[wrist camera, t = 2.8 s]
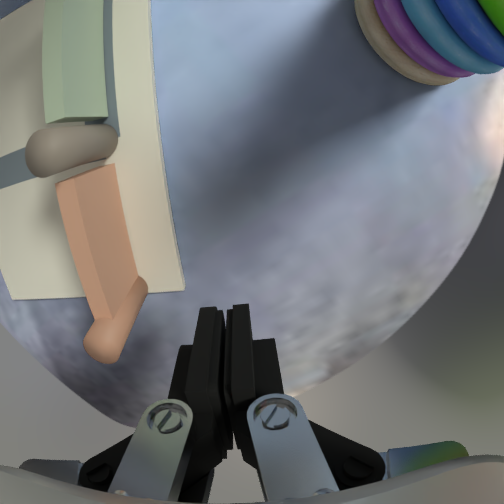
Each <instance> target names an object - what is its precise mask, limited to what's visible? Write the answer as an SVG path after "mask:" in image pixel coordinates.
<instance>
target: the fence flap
mask: <svg viewBox="0 0 504 504" xmlns="http://www.w3.org/2000/svg"><path fill="white" fill-rule="evenodd" d="M117 145H118V135H117V132H116V130H115V129H114V128H113V127H112V126H110V125H108V124H93V125H78V126H65V127H55V128H46V129H40V130H37V131H36V132H34V133H33V134H32V135H31V137H30V138H29V140H28V142H27V144H26V148H25V161H26V164H27V167H28V169H29V170H30V172H31V173H32V174H33V175H35V176H36V177H39V178H46V177H49V176H51V175H54V174H57V173H60V172H62V171H65V170H68V169H71V168H74V167H77V166H80V165H83V164H86V163H89V162H92V161H95V160H99V159H102V158H105V157H108V156H110V155H111V154H112V153H113V152H114V151H115V149H116V147H117ZM55 188H56V193H57V197H58V202H59V206H60V211H61V215H62V219H63V223H64V227H65V231H66V235H67V238H68V242H69V245H70V249H71V252H72V256H73V259H74V262H75V265H76V269H77V272H78V275H79V278H80V281H81V284H82V287H83V289H84V292H85V295H86V298H87V301H88V303H89V306H90V309H91V311H92V314H93V316H94V319H95V321H94V323H93V324H92V326H91V327H90V329H89V331H88V332H87V334H86V336H85V338H84V340H83V345H84V348H85V350H86V352H87V353H88V354H89V355H90V356H91V357H92V358H93V359H95V360H96V361H98V362H101V363H105V364H112V363H115V362H116V361H117V360H118V359H119V356H120V354H121V352H122V349H123V347H124V345H125V342H126V340H127V338H128V335H129V333H130V331H131V329H132V326H133V324H134V322H135V320H136V317H137V315H138V313H139V311H140V309H141V307H142V304H143V302H144V300H145V298H146V296H147V294H148V286H147V283H146V282H145V280H144V279H143V278H142V277H140V276H138V272H137V268H136V264H135V260H134V256H133V252H132V248H131V244H130V240H129V235H128V231H127V226H126V222H125V217H124V212H123V207H122V202H121V197H120V192H119V186H118V181H117V175H116V169H115V163H113V164H108V165H103V166H99V167H96V168H93V169H90V170H88V171H85V172H83V173H80V174H77V175H75V176H72V177H70V178H67V179H65V180H62V181H60V182H58V183H55Z"/></svg>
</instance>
